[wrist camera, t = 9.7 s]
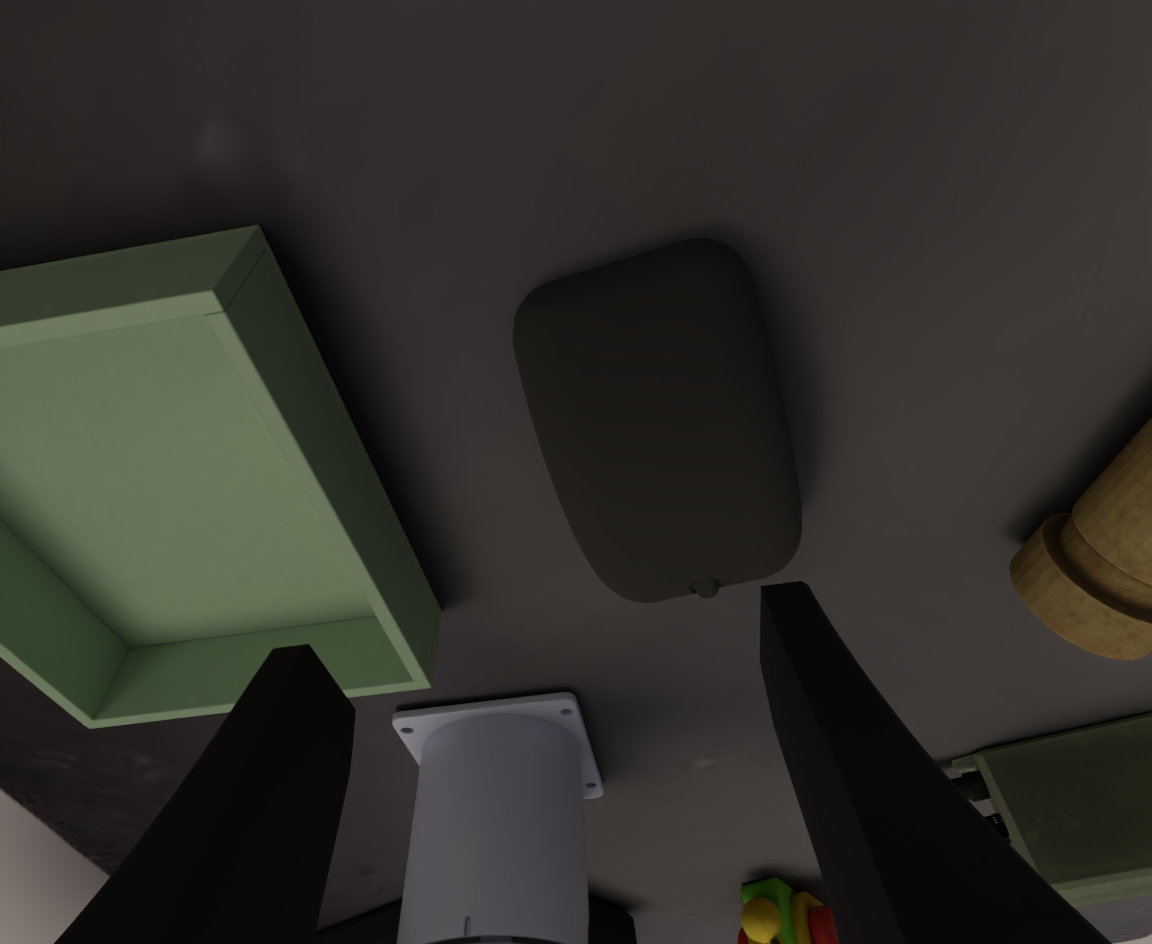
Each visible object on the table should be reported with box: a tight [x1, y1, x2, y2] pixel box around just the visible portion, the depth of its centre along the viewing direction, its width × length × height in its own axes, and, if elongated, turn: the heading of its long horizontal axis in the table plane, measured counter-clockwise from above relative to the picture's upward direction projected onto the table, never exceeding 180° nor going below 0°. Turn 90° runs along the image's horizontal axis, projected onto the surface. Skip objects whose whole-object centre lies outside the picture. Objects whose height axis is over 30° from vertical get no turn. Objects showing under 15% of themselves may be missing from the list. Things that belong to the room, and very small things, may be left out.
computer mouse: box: [513, 239, 802, 603], centre depth 20 cm, size 6×11×4 cm, turn 18°
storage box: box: [0, 225, 442, 729], centre depth 21 cm, size 15×12×3 cm
